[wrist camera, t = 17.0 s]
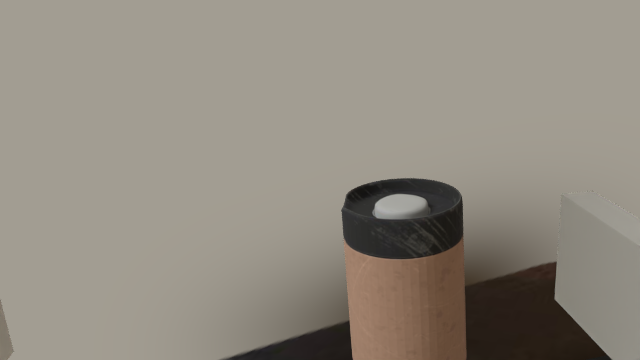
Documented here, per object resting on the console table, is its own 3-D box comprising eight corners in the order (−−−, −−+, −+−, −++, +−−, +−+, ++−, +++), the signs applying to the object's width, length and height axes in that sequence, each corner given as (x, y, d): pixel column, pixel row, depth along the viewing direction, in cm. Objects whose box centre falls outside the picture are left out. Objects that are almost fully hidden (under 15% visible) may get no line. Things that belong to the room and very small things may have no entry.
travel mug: (490, 458, 41) (491, 194, 35) (412, 519, 37) (397, 232, 31) (414, 403, 47) (402, 170, 41) (340, 450, 43) (315, 199, 37)
